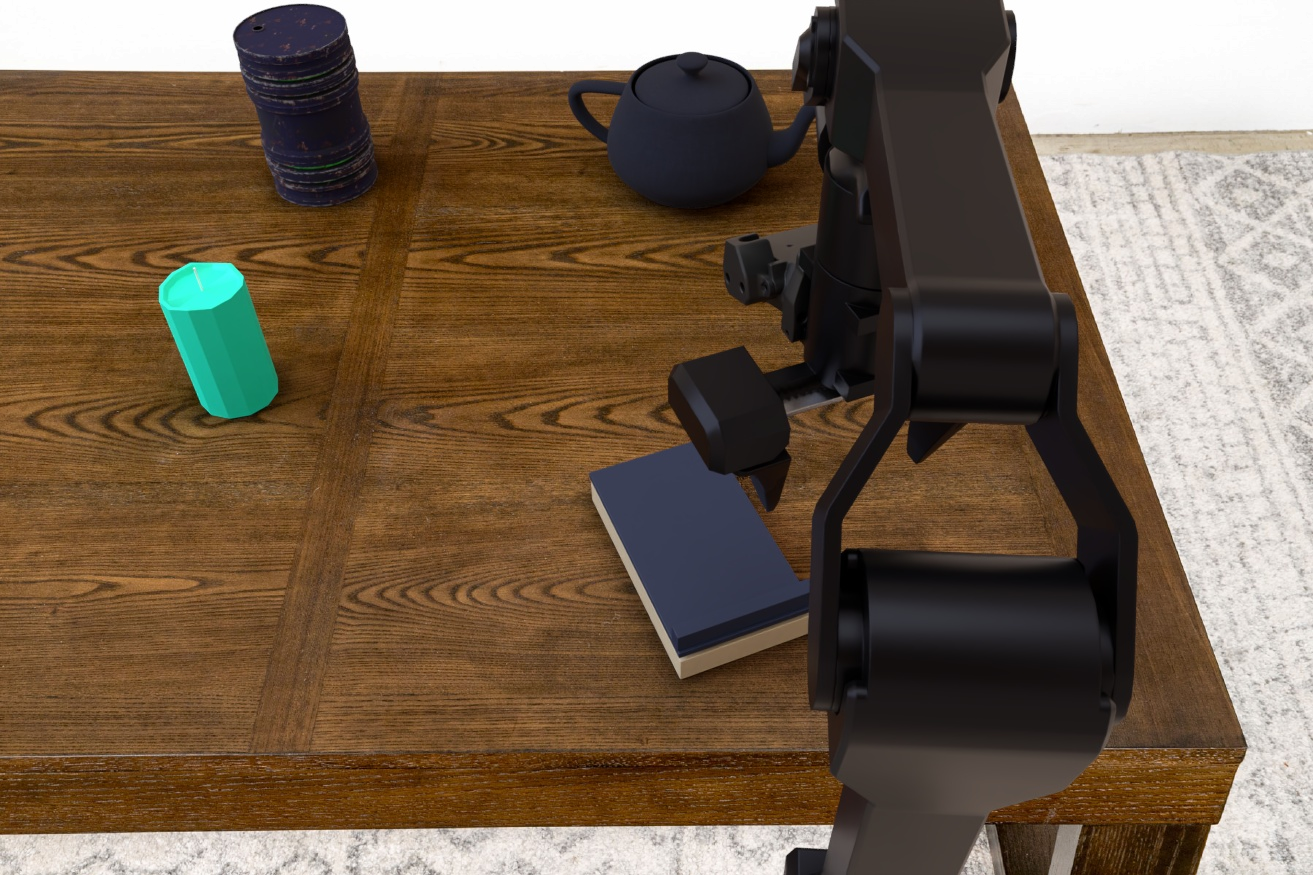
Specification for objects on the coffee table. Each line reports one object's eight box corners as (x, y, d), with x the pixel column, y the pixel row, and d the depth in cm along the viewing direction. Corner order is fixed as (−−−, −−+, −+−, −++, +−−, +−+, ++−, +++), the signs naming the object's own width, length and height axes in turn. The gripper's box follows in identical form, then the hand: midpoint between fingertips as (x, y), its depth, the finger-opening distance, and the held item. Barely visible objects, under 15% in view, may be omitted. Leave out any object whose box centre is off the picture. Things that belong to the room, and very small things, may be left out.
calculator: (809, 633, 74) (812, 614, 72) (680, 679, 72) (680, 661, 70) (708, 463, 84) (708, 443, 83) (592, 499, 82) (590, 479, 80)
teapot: (548, 205, 107) (537, 84, 98) (596, 119, 117) (590, 3, 109) (816, 245, 102) (830, 122, 94) (842, 151, 113) (856, 33, 104)
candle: (268, 418, 88) (224, 295, 79) (190, 418, 88) (137, 295, 79) (287, 365, 92) (247, 242, 83) (212, 365, 92) (164, 242, 84)
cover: (814, 610, 72) (817, 592, 71) (679, 658, 70) (679, 641, 69) (710, 440, 83) (710, 421, 81) (589, 477, 80) (587, 458, 79)
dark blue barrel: (390, 151, 114) (361, 5, 103) (364, 209, 107) (330, 59, 96) (291, 147, 114) (252, 1, 104) (259, 205, 107) (213, 55, 97)
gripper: (957, 124, 60) (912, 349, 72) (623, 204, 56) (631, 432, 67) (1089, 242, 53) (1016, 471, 64) (718, 346, 48) (709, 574, 60)
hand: (841, 481), depth 64 cm, fingers open, 9 cm apart
